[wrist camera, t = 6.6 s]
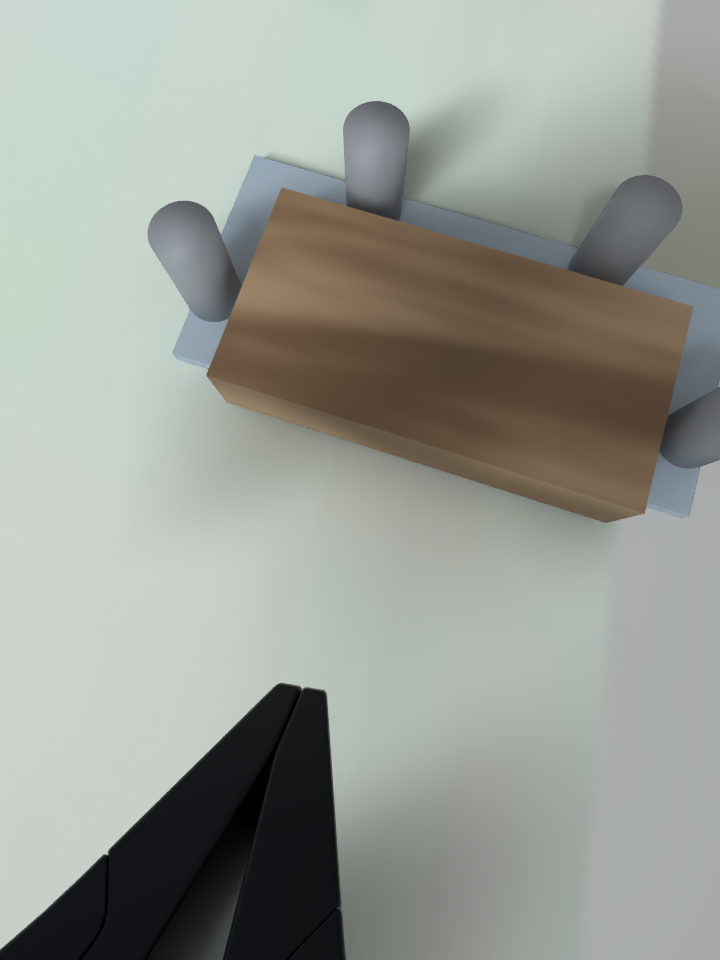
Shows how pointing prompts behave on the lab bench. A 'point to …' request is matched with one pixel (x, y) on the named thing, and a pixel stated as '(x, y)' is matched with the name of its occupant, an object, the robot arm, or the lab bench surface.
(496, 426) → the shelf board
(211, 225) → the peg plate
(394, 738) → the lab bench surface
